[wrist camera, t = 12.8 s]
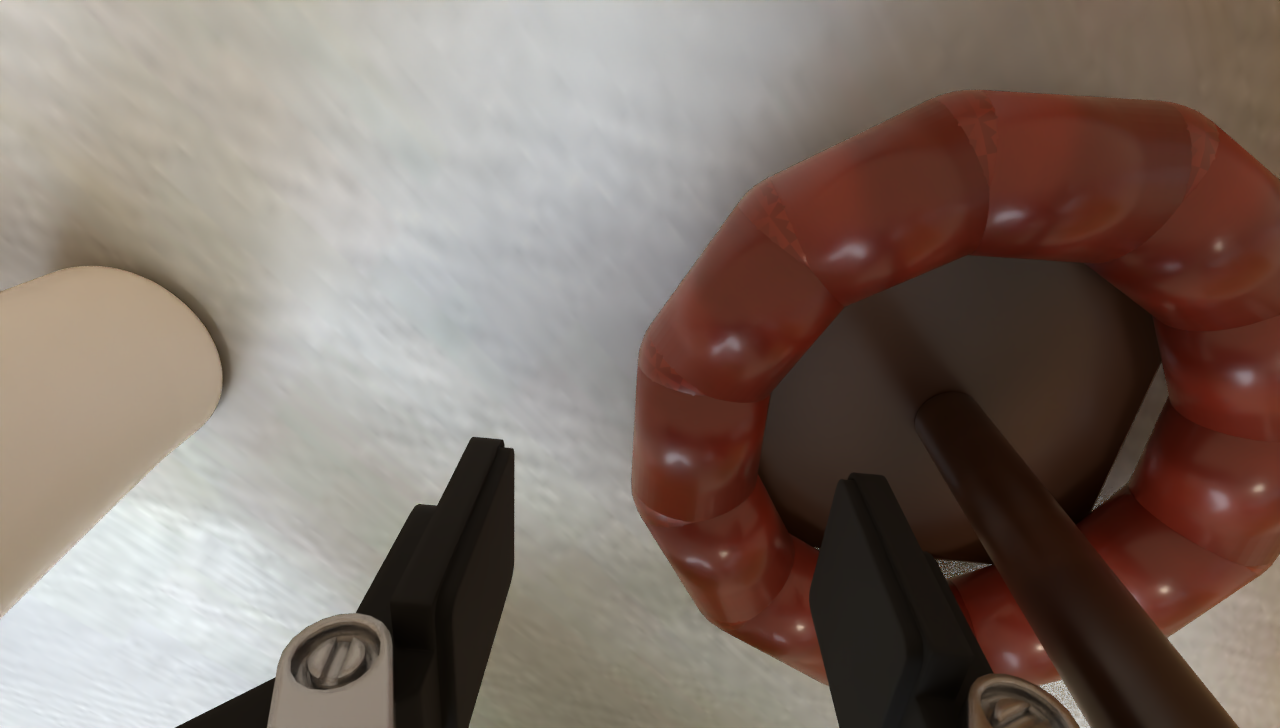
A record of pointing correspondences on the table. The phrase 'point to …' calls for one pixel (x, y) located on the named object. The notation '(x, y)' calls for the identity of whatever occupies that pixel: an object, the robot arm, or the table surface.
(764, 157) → the table surface
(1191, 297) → the ring
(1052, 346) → the peg stand
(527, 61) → the table surface
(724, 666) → the table surface
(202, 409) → the drinking glass
